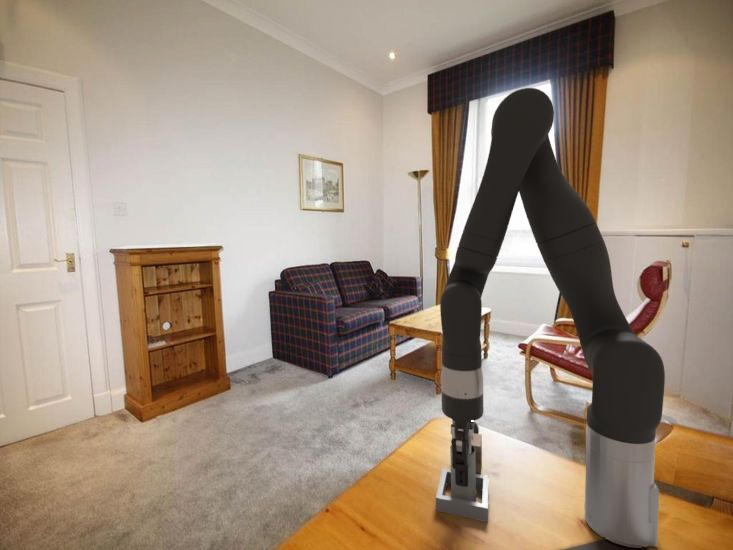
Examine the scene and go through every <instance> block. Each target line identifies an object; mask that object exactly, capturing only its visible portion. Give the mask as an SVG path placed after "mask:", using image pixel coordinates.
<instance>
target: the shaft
mask: <svg viewBox="0 0 733 550" xmlns="http://www.w3.org/2000/svg"><path fill="white" fill-rule="evenodd" d="M479 431H480V428H479V425H478V423H477V422H476V421H474V430H473V433H476V434H480V433H479Z"/></svg>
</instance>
